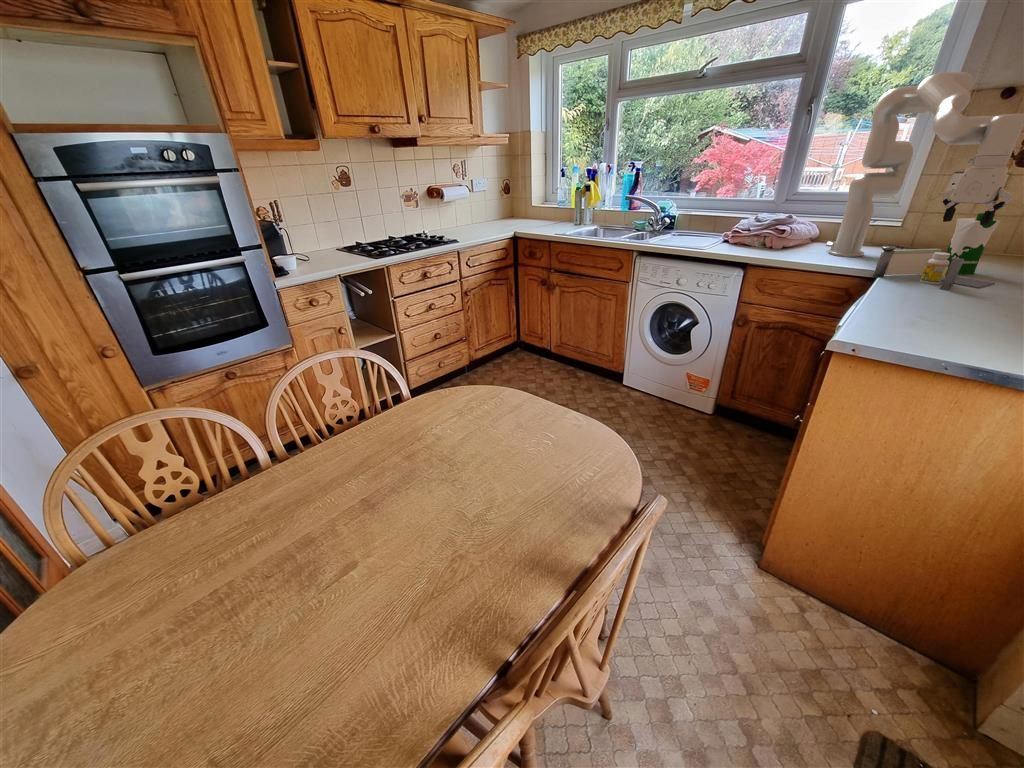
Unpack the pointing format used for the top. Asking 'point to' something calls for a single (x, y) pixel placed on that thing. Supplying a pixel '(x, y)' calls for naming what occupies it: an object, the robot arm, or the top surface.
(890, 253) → the hinge post
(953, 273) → the post
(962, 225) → the milk carton
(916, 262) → the gate
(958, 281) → the mat
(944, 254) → the supplement bottle
